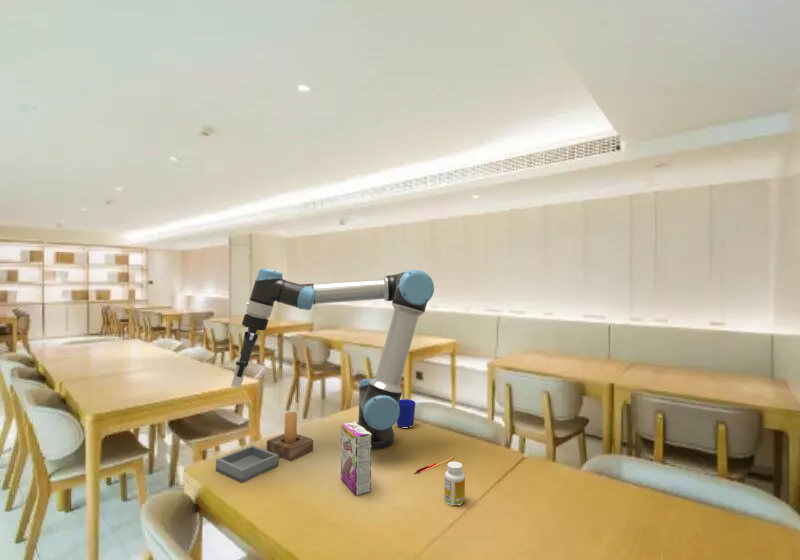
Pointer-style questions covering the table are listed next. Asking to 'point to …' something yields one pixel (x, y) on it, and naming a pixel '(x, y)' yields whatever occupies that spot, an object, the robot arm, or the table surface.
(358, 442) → the candy bar box
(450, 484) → the supplement bottle
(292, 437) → the pin
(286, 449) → the hitch block
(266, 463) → the tray
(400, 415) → the mug
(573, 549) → the table surface
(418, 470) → the pen
